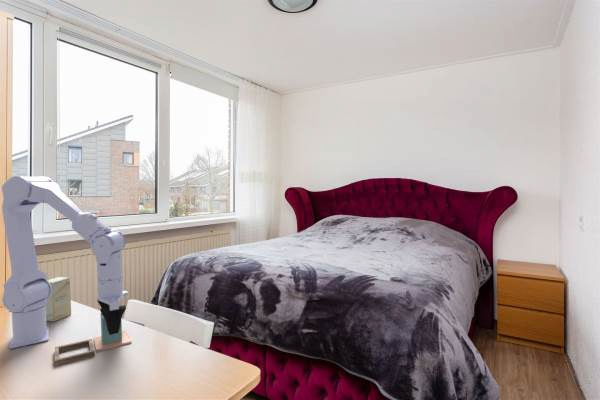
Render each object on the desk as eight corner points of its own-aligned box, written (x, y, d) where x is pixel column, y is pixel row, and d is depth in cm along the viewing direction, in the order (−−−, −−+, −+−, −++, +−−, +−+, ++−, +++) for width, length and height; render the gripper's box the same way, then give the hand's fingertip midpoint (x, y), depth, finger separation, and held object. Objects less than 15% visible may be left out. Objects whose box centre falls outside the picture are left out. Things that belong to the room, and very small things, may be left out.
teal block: (101, 338, 92) (100, 313, 92) (119, 334, 95) (119, 309, 94) (103, 345, 89) (102, 318, 88) (122, 340, 91) (121, 314, 91)
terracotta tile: (93, 339, 93) (93, 337, 93) (126, 332, 97) (126, 330, 97) (96, 351, 86) (96, 349, 86) (131, 343, 91) (131, 341, 91)
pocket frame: (55, 351, 86) (54, 347, 86) (92, 343, 91) (92, 338, 91) (54, 366, 80) (54, 361, 80) (94, 355, 84) (94, 351, 84)
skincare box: (54, 322, 104) (52, 282, 104) (42, 321, 105) (40, 281, 104) (72, 314, 111) (70, 276, 110) (60, 313, 111) (58, 276, 111)
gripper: (131, 282, 87) (133, 334, 88) (122, 269, 99) (124, 315, 100) (99, 287, 83) (101, 341, 84) (94, 273, 95) (96, 321, 96)
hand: (111, 328), depth 92 cm, fingers open, 7 cm apart
